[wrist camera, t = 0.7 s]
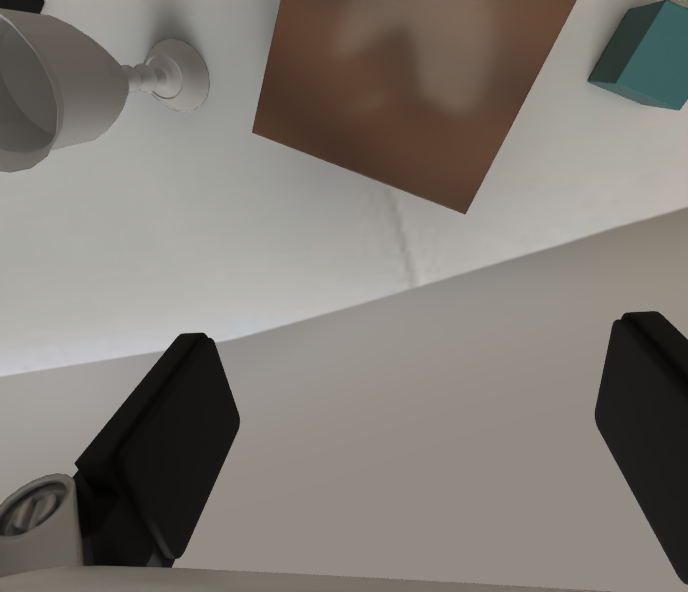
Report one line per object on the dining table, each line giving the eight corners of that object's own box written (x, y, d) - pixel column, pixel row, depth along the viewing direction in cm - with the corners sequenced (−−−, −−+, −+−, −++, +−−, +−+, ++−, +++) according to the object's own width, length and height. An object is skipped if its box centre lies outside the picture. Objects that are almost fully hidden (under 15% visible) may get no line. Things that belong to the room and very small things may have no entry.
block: (628, 8, 27) (666, -1, 23) (689, 34, 28) (737, 29, 24) (586, 81, 29) (614, 83, 26) (643, 105, 30) (680, 111, 26)
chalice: (227, 39, 31) (48, 12, 15) (219, 133, 34) (66, 191, 19) (131, 12, 31) (-147, -42, 15) (133, 110, 34) (-94, 147, 19)
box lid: (338, -249, 19) (318, -351, 14) (633, -117, 20) (704, -173, 15) (254, 131, 28) (225, 144, 23) (464, 211, 29) (476, 240, 24)
